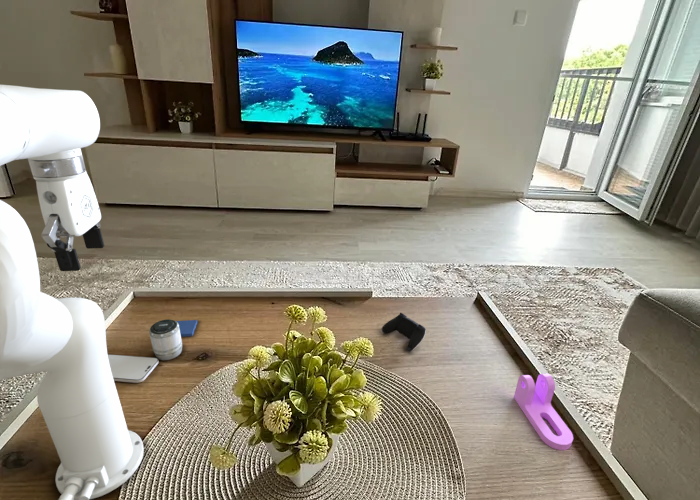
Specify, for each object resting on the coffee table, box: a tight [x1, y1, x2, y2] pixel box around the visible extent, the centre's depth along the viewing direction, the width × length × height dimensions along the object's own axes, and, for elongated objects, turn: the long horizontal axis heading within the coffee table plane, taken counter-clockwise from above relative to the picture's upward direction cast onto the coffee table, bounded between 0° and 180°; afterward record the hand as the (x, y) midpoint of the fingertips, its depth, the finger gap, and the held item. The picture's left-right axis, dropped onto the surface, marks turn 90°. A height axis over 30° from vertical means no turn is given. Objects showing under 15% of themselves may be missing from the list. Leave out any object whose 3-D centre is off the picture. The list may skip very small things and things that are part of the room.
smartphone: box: [107, 353, 160, 384], centre depth 87 cm, size 7×1×15 cm
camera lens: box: [148, 318, 183, 361], centre depth 92 cm, size 6×6×8 cm
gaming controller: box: [381, 312, 427, 352], centre depth 100 cm, size 11×4×7 cm
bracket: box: [513, 373, 574, 451], centre depth 76 cm, size 13×6×7 cm, turn 7°
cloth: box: [175, 319, 198, 338], centre depth 101 cm, size 6×6×1 cm
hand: (83, 258), depth 74 cm, fingers open, 9 cm apart
